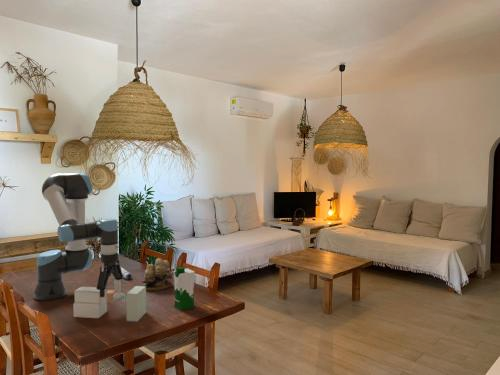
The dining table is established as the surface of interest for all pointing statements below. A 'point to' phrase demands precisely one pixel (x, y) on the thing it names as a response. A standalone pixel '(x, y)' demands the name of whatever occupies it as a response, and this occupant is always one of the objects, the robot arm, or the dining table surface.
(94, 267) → the dining table surface
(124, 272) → the white knobbed cylinder
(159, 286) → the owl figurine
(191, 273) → the milk carton
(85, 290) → the sleeve
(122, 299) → the tube
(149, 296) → the dining table surface
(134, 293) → the socket block
